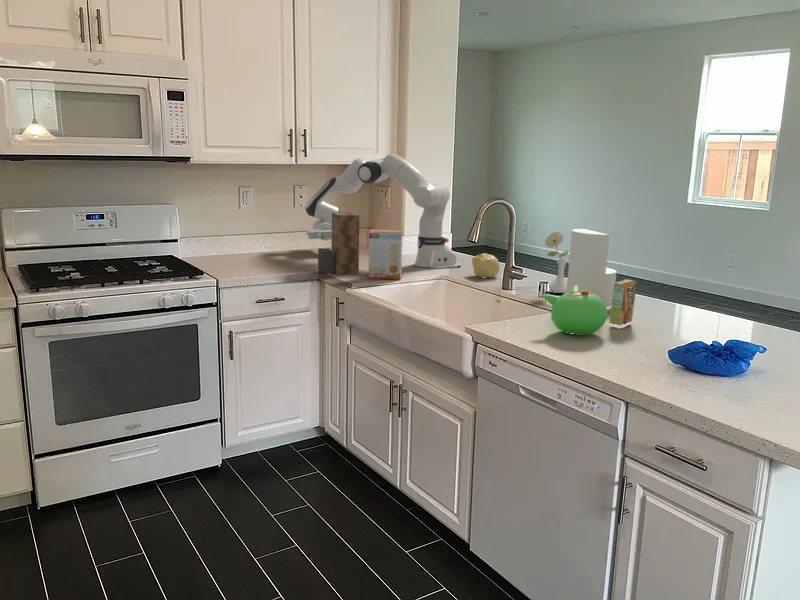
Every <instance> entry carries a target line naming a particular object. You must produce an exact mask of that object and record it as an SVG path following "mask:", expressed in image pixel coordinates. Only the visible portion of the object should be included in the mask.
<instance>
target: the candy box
mask: <svg viewBox="0 0 800 600" xmlns="http://www.w3.org/2000/svg"><path fill="white" fill-rule="evenodd" d="M637 283H638V281H637V280H632V279H626V278H625V279H622V280H620V281H615V283H614V289H613V298H612V307H611V310H610V317H609V323H612V324H617V325H622V324H626V323H628V322H631V321H632V322H633V315H634V309H635V299H636V294H637V293H636V292H637Z"/></svg>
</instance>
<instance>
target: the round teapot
mask: <svg viewBox="0 0 800 600" xmlns="http://www.w3.org/2000/svg"><path fill="white" fill-rule="evenodd" d="M541 297H542V299H544V300H545V301H547V303H549V304H550V305H552V307H551V312H550V315H551V319H552V322H553V324H554V325H555V326H556V327H557V328H558V330H560V331H561V332H563V331H564V333H565V332H568V333H574V334H586V335H590V334H593V333H595V332H597V331H598V330H600V329H601V328H602V327H603V326H604V325H605V322H606V321H607V317H608V310H607V308H606V305H605V303H604V302H603V300H602V299H601V298H600V297H599V296H597V295H595V294H593V293H591V292H589V291H582V290H579V288H578V286H577V285H575V286H573V288H572V289H571V291H570V292H568V293H565V294H560V295H553V294H547V293H546V294H545V293H544V294H541ZM568 333H567V334H568ZM589 333H590V334H589Z"/></svg>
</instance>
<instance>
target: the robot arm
mask: <svg viewBox="0 0 800 600" xmlns="http://www.w3.org/2000/svg"><path fill="white" fill-rule="evenodd" d="M351 163H352V164H351ZM351 163H349V165H348V166H347V167H346V169H345V170H343V172H342V174H340V175H339V176H335V177H334V176H333V177H331V178H330V179H329V180H328V181H327V182H326V183H325V184H324V185H323V186H322V187H321V188H320V189H319V190H318V191H317V192H316V193H315V194H314V195H313V196H312V197H310V198H309V199H308V200H307V202H306V204H305V207H304V210H305V211H306V214H307V216H310V217H313V218H315V219H316V220H315V221H314V222H313V225H312V229H308V230H307V231H306V232H305V234H306V235H307V237H308V240H309V239H310V240H316V239H317V240H319V239H320V240H322V241H329V240H332V212H341V211H340V209H339V207H338V206H337V207H336V206H335V205H333V204H331V203H328V202H326V201H325V199H326V197H327V196H328V195H329V194H332V193H341V194H348V195H349V194H350V195H351V194H354V193H356V192H358V191H359V190H360V188H361V187H362V185H363V184H375V183H381V182H384V181H386V180H389V179H391V180H393V181H394V182H396V183H397V184H398V185H399V186H400V187H401V188H403V189H404V190H405V191H407V193H408V194H409V195H410V196H411V198H412V199H413V202H414V203H415V205H416V206H417V207H420V208H423V211H422V214H421V215H420V218H419V224H418V225H419V226H418V228H419V229H418V230H419V231H418V236H417V253H416V258H415V262H414V266H417V267H421V268H428V267H430V269H447V268H446V267H451V268H459V267H458V266H461V267H462V264H461V263H460V262H458V261H457V260H458V259H457V255H456V253H455V252H454V250H452V249H451V248H450V247H449V246H448V245H446V243H448V242H449V239H448V237H444V236H443V221H444V217H445V212H446V209H447V204H448V201H449V200H450V197H451V193H450V189H449V188H448V187H447V186H446V185H444V184H441V183H430V182H429V181H428V180H427V179H426V178H425V177H424V175H423V173H422V171H420V170H419V169H418V168H417V167H415V166H414V165H413V164H411V163H410V162H409V161H408V160H406V159H405V158H403V156H402V157H401V156H400V155H398V154H396V153H389V154H387V155H386V156H385V157H384V158H379V159H372V160H369V161H367V160H365V159H363V158H360V157H359V158H358V159H357V158H355V159H354V160H352V162H351Z"/></svg>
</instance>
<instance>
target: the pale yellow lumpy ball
mask: <svg viewBox="0 0 800 600" xmlns="http://www.w3.org/2000/svg"><path fill="white" fill-rule="evenodd" d="M471 265H472V268H473V274H474V275H475V276H476V277H478V276H479V277H478V278H480V277H490V278H494V277H496V276H498V274H499V271H500V262H499V260H498V258H497V257H496V256H494V255H493V254H488V253H485V252H484V253H480V254H477V255H475V256H473V257H472V258H471Z"/></svg>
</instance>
